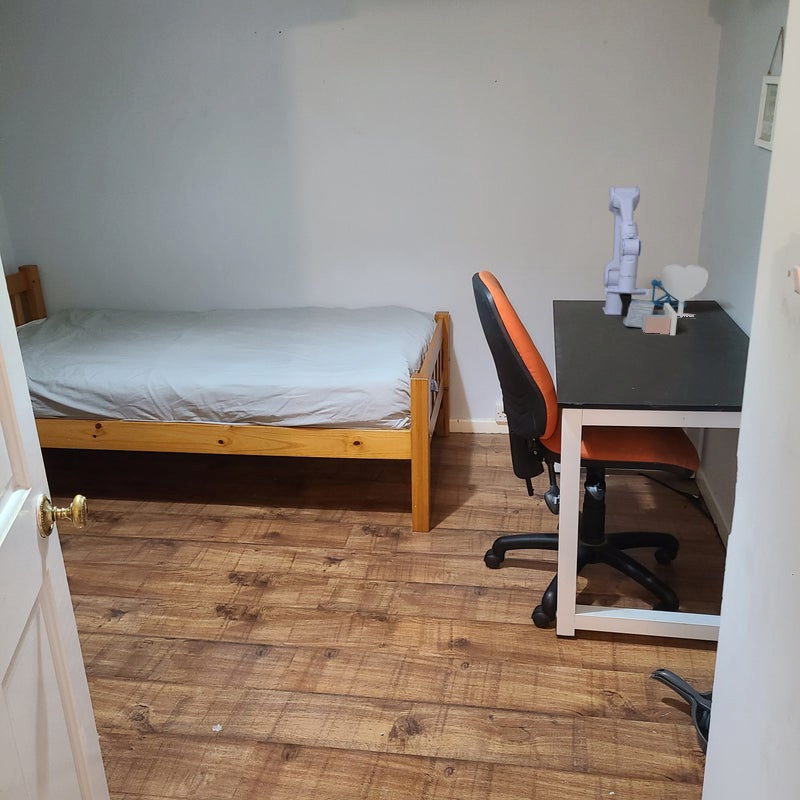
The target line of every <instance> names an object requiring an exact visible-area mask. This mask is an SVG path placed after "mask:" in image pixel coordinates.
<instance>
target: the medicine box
mask: <svg viewBox="0 0 800 800" xmlns="http://www.w3.org/2000/svg"><path fill="white" fill-rule="evenodd" d="M654 305H655V304H654V303H653V302H651V300H647V299H638V298H636V299H635V298H631V300H630V302H629V304H628V305H627V317H623V319H622V320H623V321H622V323H623V325H624V326H626V327H632V328H633V327H634V328H640V329H642V321H643V315H652V313H653V310H655V309H654V308H655V306H656V305H655V306H654Z"/></svg>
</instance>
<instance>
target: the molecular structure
mask: <svg viewBox="0 0 800 800" xmlns="http://www.w3.org/2000/svg"><path fill="white" fill-rule="evenodd" d="M650 284H651V286H652V293H651V294H652V296H651V300H650V301H651V302H653V303H654V304H655V305H654V307H655V306H658V307H661V308H663V307H664V303H669V304H670V306H671V307H672V308H673V309H674V308H678V305H679V300H677V299H676V298H674V297H673V296H671V295H670V294H669V293H668V292H667V291H666V290H665V289H664V287H663V285H662V283H661V280H657V279H652V281H650ZM656 287H658V288H659V289H660V290H661V291H663V292H664V293H665V294H664V295H662V296H661V297H659V298H657V299H656V300H655V293H656ZM664 298H665V300H663V299H664ZM671 298H672V299H674V300H672V299H671ZM671 304H674V305H671ZM687 305H688V304H687V302H686V300H685V301H684V307H683V309H686V307H687Z"/></svg>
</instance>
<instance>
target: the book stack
mask: <svg viewBox="0 0 800 800" xmlns="http://www.w3.org/2000/svg"><path fill="white" fill-rule="evenodd" d="M663 305H664V307H662V309H653V313H652V315H643V321H642V328H641V330H643V331H642V333H644V332H645V333H660V334H659V335H670V336H676V333H677V332H676V330H677V321H678V317H677V313H678V312H676V311H675V309H674V308H672V307H671V306H672V305H671V303H670V304H669V303H665V302H664V303H663ZM645 333H644V334H645ZM669 333H670V334H669Z"/></svg>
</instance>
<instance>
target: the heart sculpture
mask: <svg viewBox="0 0 800 800" xmlns="http://www.w3.org/2000/svg"><path fill="white" fill-rule="evenodd" d="M708 280H709V272H708V269H707V268H706V267H704V266H702V265H698V264H694V263H693V264H688V265H687V266H684V265H682V264H680V263H672V264H668V265H666V266H664V267H662V269H661V272H660V281H661V283H662V285H663V286H662V288H664V289H665V290H666V291H667V292H668V293H669V294H670V295H671V296H673V297H674V298H676V299H677V300H679V305H678V304H677V305H678V307H677V312H676V313H677V316H680V317H679V318H682V317H683V316H684V317H685V316H686V317H688V316H689V317H694V315H695V314H694V313H685V312H684V308H683V307H684V301H685V302H686V301H687V300H689V299H691V298H693V297H695V296H697V295H698V294H700V293H701V292H702V291H703V290H704V289H705V287H706V286H707V283H708Z"/></svg>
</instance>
